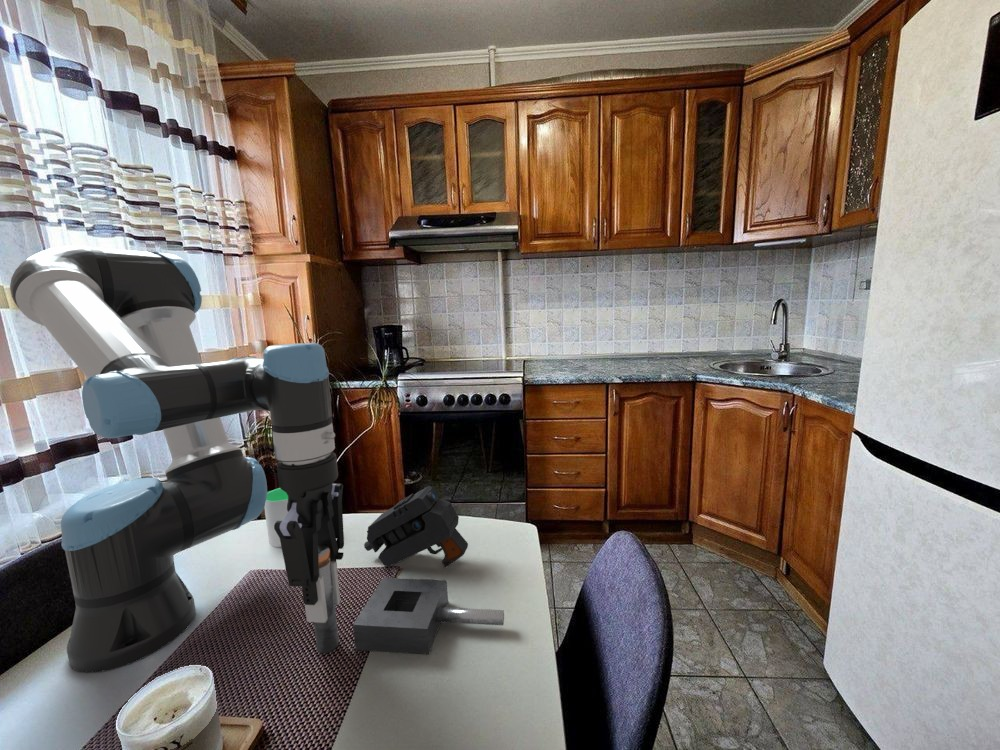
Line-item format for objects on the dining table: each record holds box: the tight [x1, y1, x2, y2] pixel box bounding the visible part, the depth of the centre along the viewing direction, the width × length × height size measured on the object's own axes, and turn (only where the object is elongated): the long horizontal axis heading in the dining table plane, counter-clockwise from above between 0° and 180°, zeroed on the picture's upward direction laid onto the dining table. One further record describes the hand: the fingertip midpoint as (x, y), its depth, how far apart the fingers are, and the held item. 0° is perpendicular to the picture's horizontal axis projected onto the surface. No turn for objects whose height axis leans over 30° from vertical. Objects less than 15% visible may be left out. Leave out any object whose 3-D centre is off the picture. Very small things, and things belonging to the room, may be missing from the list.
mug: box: [264, 487, 288, 548], centre depth 94 cm, size 12×8×10 cm
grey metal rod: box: [313, 545, 340, 655], centre depth 61 cm, size 3×3×15 cm
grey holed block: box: [352, 577, 505, 656], centre depth 65 cm, size 21×11×4 cm, turn 83°
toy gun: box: [363, 485, 469, 569], centre depth 83 cm, size 6×19×15 cm
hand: (324, 611), depth 62 cm, fingers closed on grey metal rod, 3 cm apart
